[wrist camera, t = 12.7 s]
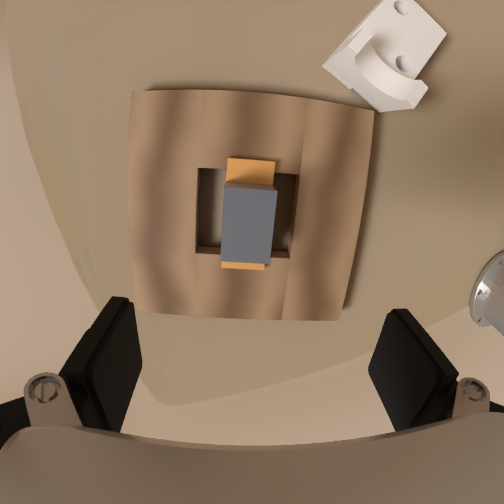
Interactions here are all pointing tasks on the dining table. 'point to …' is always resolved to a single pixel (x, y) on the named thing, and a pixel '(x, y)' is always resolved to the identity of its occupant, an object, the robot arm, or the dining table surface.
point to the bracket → (388, 55)
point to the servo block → (248, 214)
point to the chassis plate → (216, 156)
